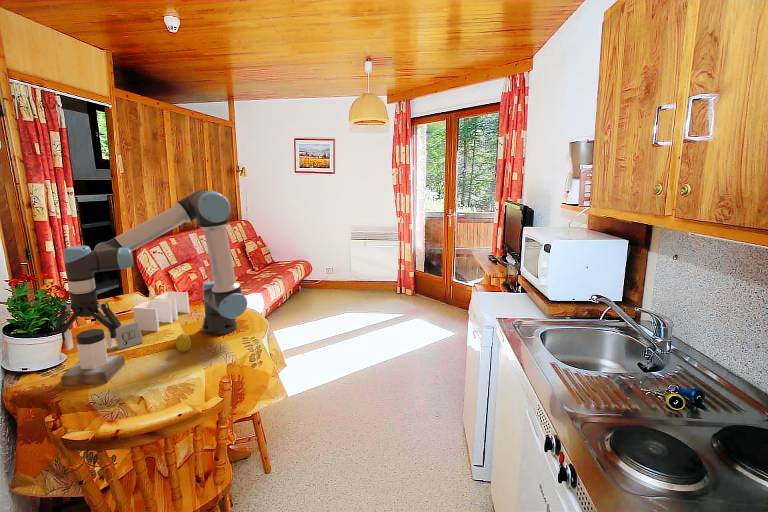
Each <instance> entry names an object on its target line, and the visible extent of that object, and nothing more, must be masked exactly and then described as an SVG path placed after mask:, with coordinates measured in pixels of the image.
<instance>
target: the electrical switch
mask: <svg viewBox="0 0 768 512" xmlns="http://www.w3.org/2000/svg"><path fill="white" fill-rule="evenodd" d="M115 340H116V345H117V349H118V350H123V349H127V348H130V347H133V346H137V345H140V344H143V342H144V340H143V336H142V330H140V326H139V323H138V322H135V321H133V322H131V323H127V324H124V325H121V326H119V327H118V328H117V329H116V337H115Z"/></svg>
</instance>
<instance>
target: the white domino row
mask: <svg viewBox="0 0 768 512" xmlns="http://www.w3.org/2000/svg"><path fill="white" fill-rule="evenodd" d="M189 299H190V298H189V292H185V291H184V292H181V291H170V290H169V291H166V292H163V293H162V294H160V295H157V296H155V297H153V299H149V300H147V301H145V302H142V303H140V304H138V305H136V306H134V307H132V309H133V310H132V311H133V319H134V322H138V323H139V326H140V330H141V331H144V332H145V331H147V332H149V331H150V332H159V331H160V323H169V324H173V323H174V322H173V321H178V320H179V317H178V316H179V314H178V313H186V314H190V301H189Z"/></svg>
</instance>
